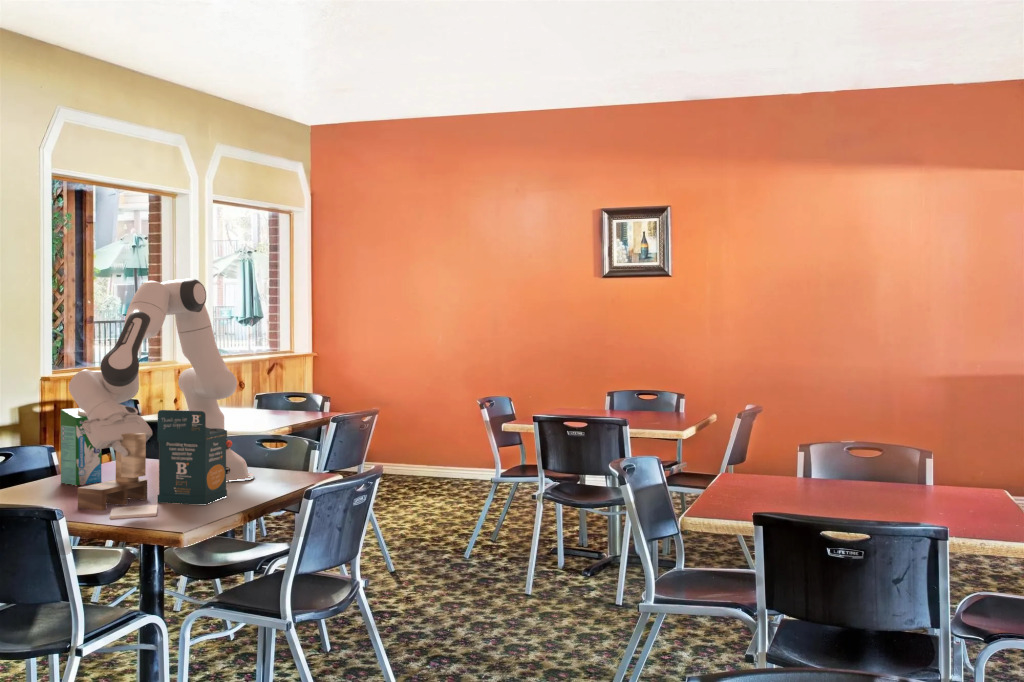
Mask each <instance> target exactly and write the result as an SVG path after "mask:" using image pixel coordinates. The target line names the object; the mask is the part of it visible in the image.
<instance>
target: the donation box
mask: <svg viewBox="0 0 1024 682" xmlns="http://www.w3.org/2000/svg"><path fill="white" fill-rule="evenodd" d="M226 439H228V430H227V429H225V428H224V429H218V428H207V427H206V414H205V412H203V411H189V410H178V409H177V410H176V409H175V410H173V409H160V410H158V411H157V442H158V494H157V504H172V503H180V504H179V505H189V504H208V503H210V502H213V501H215V500H217V499H220V498H222V497H225V496H227V497H228V490H227V483H226ZM181 503H182V504H181ZM208 505H209V504H208Z"/></svg>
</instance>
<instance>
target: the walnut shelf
mask: <svg viewBox="0 0 1024 682" xmlns="http://www.w3.org/2000/svg"><path fill="white" fill-rule="evenodd" d="M127 498H130V499H129V500H137V499H143V500H142V501H145V499H146V500H148V479H144V478H139V480H136V481H131V482H117V481H116V479H112V480H108V481H103V482H102V481H101V482H99V483H93V484H88V485H83V486H80V487H79V486H78V487H77V509H79V508H84V509H83V510H89V509H91V510H90V511H101V512H102V511H106V510H107V505H115V504H118V505H117V506H126V504H127V505H128V499H127ZM106 503H107V504H106Z"/></svg>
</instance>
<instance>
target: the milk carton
mask: <svg viewBox="0 0 1024 682" xmlns="http://www.w3.org/2000/svg"><path fill="white" fill-rule="evenodd" d="M85 420H89V419H88V418H87V415H86V413H85V412H84V411H83V410H82V409H80V407H75V408H64V409H63V408H62V409H60V484H61V483H65V484H64V485H67V484H72V485H71V486H73V485H81V486H83V485H82V484H87V485H90V484H89V483H93V484H97V483H96V482H99V483H102V449H96V448H95V447H93V445H92V444H91V442H90V441H89V439H88V437H87V435H86V432H85V430H84V428H83V427H82V424H83V422H84V421H85Z"/></svg>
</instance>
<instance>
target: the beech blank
mask: <svg viewBox="0 0 1024 682" xmlns="http://www.w3.org/2000/svg"><path fill="white" fill-rule="evenodd" d="M139 479H140V477H136V478H129V477H121V453H119V452H117V451H116V450H115V480H116V481H117V482H131V481H136V480H139Z"/></svg>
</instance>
